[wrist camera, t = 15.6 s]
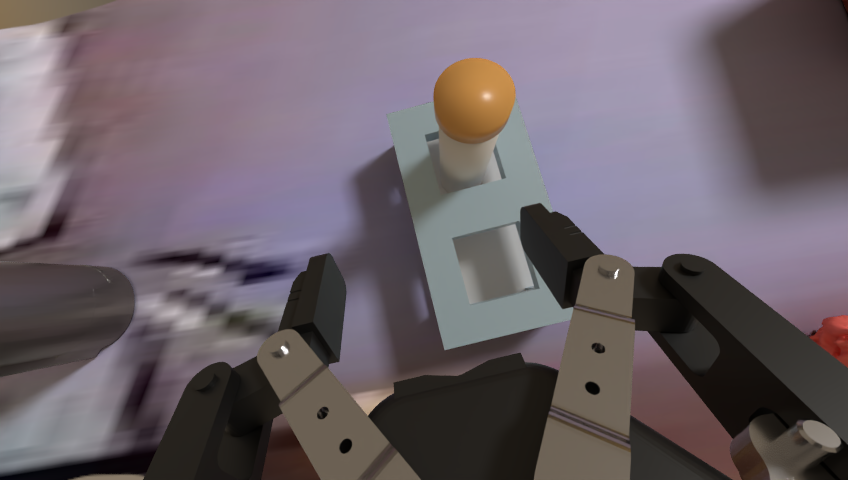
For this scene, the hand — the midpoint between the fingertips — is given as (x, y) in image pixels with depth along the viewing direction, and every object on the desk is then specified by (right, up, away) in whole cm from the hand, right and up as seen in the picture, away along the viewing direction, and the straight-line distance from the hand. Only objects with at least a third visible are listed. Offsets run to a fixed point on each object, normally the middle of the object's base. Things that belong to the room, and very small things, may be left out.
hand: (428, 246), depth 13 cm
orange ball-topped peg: (+4, +7, +20) cm, 21 cm away
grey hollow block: (+5, +2, +20) cm, 21 cm away
